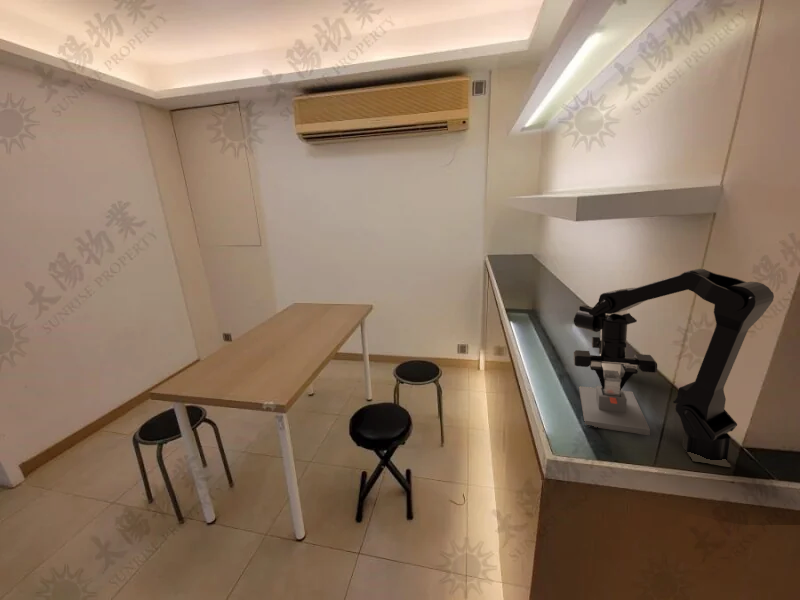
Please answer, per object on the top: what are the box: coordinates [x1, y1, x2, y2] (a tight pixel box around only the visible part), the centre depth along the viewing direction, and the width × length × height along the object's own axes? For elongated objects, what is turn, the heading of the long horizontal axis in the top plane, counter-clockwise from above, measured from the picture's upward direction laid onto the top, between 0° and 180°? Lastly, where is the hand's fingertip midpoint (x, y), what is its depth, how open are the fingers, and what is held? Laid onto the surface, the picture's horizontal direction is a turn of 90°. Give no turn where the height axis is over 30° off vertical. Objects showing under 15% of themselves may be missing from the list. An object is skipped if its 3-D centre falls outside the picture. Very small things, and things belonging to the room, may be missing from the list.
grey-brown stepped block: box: [603, 370, 621, 397], centre depth 91 cm, size 4×5×9 cm
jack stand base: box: [578, 385, 651, 436], centre depth 92 cm, size 14×20×6 cm
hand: (611, 389), depth 91 cm, fingers closed on grey-brown stepped block, 3 cm apart
